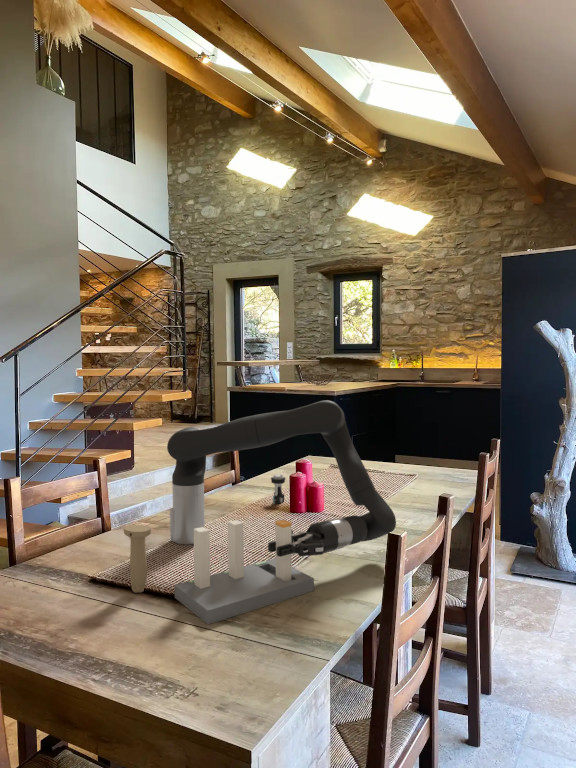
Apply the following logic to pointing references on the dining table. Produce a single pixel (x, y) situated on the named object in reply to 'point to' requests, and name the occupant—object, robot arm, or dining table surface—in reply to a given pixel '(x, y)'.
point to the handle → (138, 555)
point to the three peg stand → (235, 581)
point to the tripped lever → (282, 539)
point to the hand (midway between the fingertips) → (273, 549)
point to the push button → (278, 488)
